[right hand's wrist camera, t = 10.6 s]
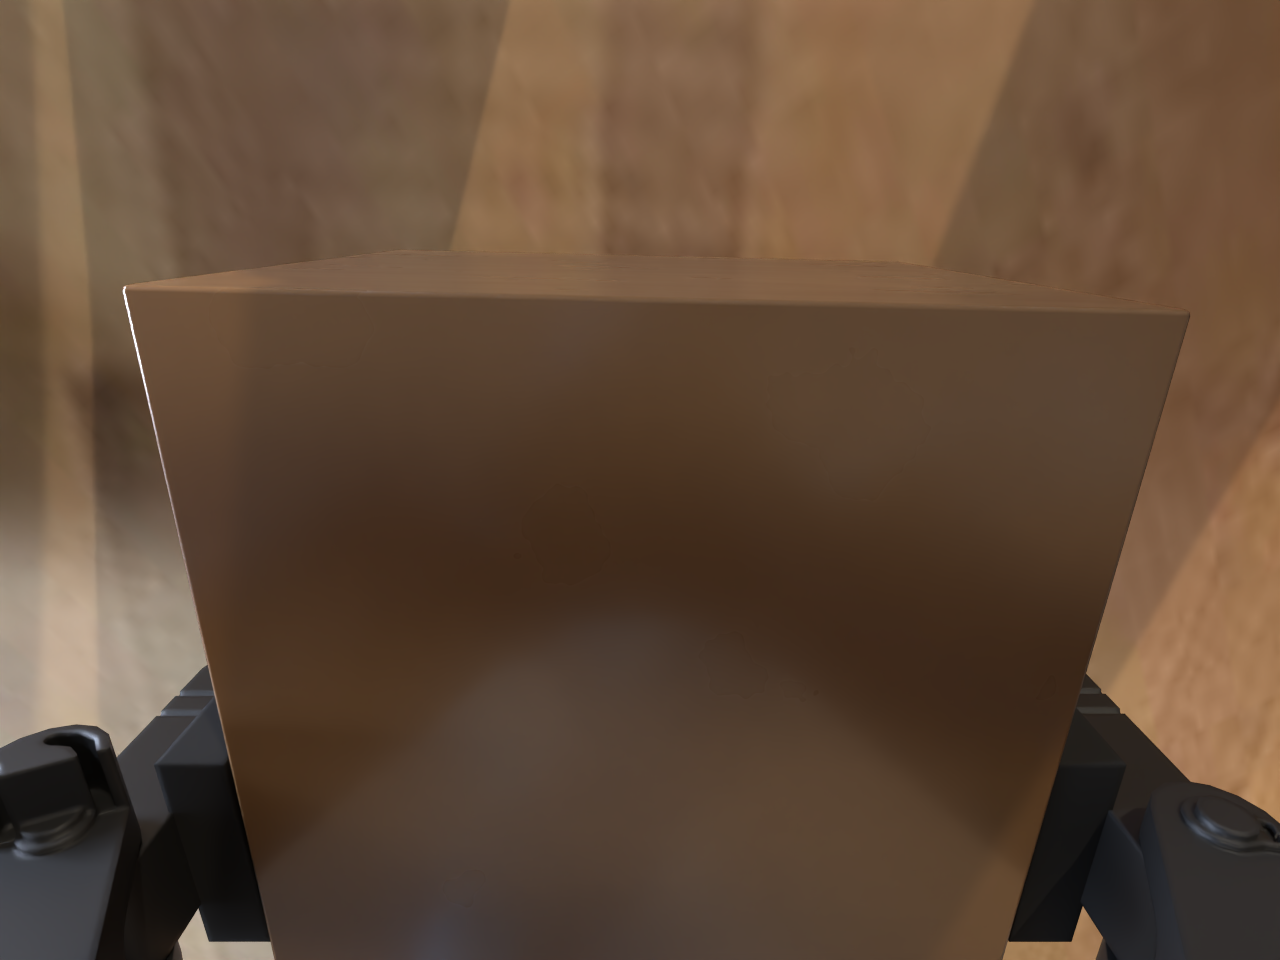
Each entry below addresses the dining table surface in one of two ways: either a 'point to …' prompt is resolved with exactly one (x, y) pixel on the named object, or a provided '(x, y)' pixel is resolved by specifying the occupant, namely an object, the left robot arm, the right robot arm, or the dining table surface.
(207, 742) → the right robot arm
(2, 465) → the dining table surface
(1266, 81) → the dining table surface
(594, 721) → the thick board
